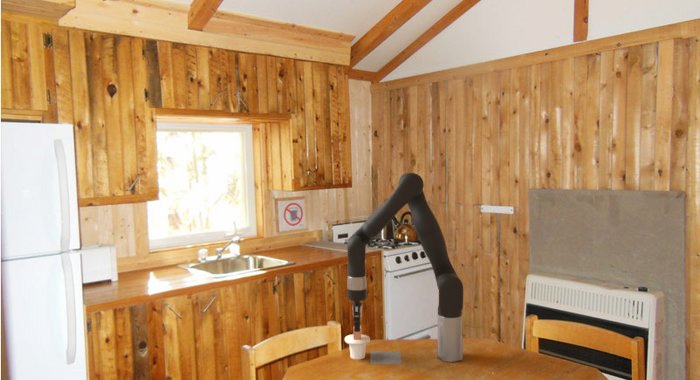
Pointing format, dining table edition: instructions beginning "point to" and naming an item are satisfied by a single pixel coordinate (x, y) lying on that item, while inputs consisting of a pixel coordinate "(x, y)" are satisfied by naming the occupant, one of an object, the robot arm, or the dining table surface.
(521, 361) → the dining table surface
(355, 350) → the white cup
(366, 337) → the lid
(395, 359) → the mat
